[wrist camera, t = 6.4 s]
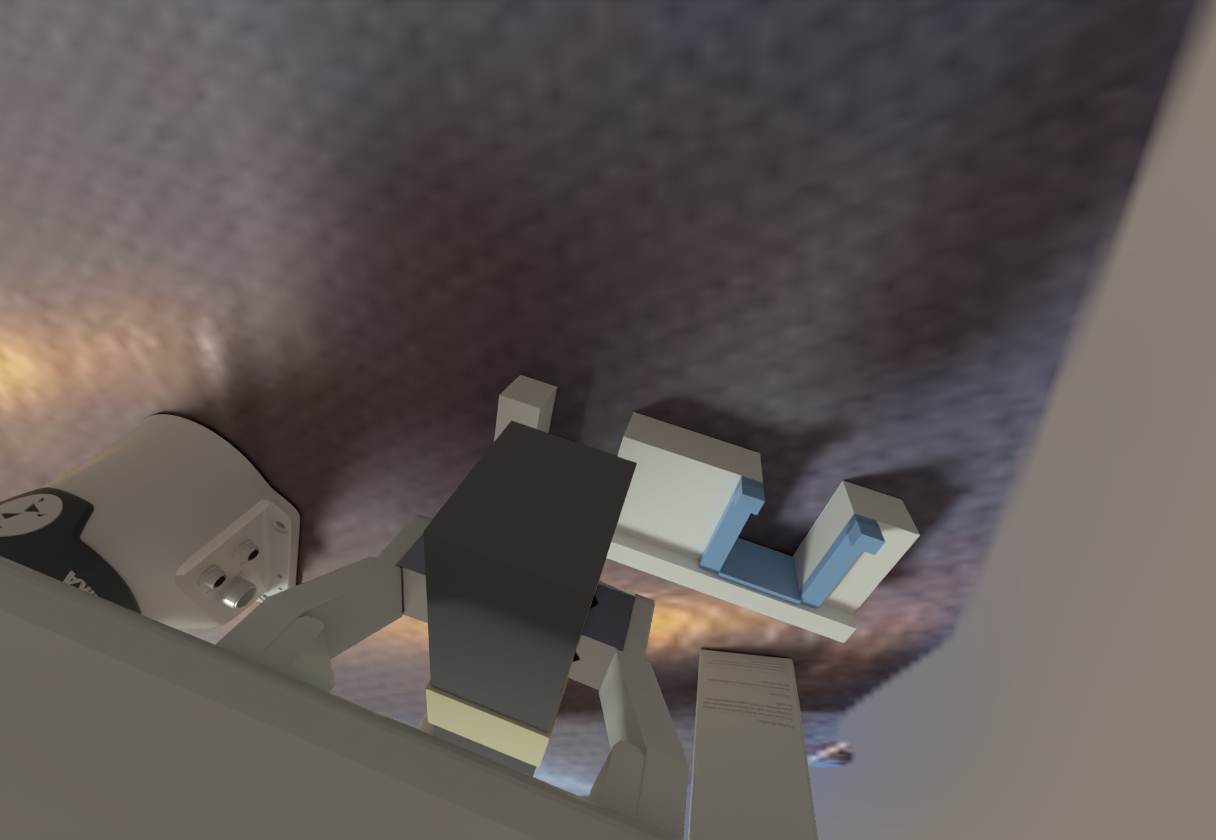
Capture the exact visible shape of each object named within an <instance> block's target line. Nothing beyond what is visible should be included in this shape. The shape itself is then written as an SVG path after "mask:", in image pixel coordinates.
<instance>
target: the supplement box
mask: <svg viewBox="0 0 1216 840" xmlns="http://www.w3.org/2000/svg"><path fill="white" fill-rule="evenodd" d="M688 840H818V835H817V828H816V821H815V814H814V806H813V799H812V793H811V785H810V778H809V771H808V763H807V755H806V748H805V740H804V733H803V726H802V719H801V711H800V704H799V698H798V692H797V685H796V678H795V671H794V666H793V661H792V659H789V658H778V657H768V656H758V655H748V654H739V653H730V652H721V651H711V650H700V655H699V671H698V688H697V704H696V720H695V736H694V752H693V769H692V785H691V800H690V818H689V832H688Z"/></svg>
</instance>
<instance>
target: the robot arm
mask: <svg viewBox="0 0 1216 840" xmlns="http://www.w3.org/2000/svg"><path fill="white" fill-rule="evenodd" d="M432 520H433V519H431V518H428V517H425V516H423V515H418V516H416V517H414V518H413V519H412V520H411V521H410V522H409V523H408V524H407V525H406V527H405V528H404V529H403V530H402V531H401V532H400V533H399V534H398V535H397V536H396V537H395V538H394V540H393V541H392V542H391V543H390V544H389V545H388V546H387V547H386V548H385V549H384V550H383V551H382V552H381V554H380V555H379V556H378V557H377V558H374V557H368V558H366V559H363V560H361V561H358V562H356V563H353V564H350V565H348V566H345V567H343V568H340V569H338V570H335V571H333V572H330V573H328V574H325V575H323V576H320V577H317V578H315V579H312V580H310V581H307V582H305V583H302V584H300V585H297V586H296V573H297V558H298V543H299V529H300V515H299V513H298V511H297V510H296V509H295V508H294V507H293V506H292V505H291V504H290V503H289V502H288V501H287V500H286V499H284V498H283V497H282V496H281V495H279V494H278V493H277V492H276V491H274V490H273V489H272V488H271V487H270V486H269V484H268V483H267V482H266V481H265V480H264V478H263V477H262V476H261V475H260V473H259V472H258V471H257V470H256V469H255V467H254V466H253V465H252V464H251V463H250V462H249V461H248V460H247V459H246V458H245V457H244V456H243V455H242V454H241V453H240V452H239V451H238V450H237V449H235V448H234V447H233V446H232V445H231V444H229V443H228V442H227V441H226V440H224V439H223V438H221V437H220V436H218V435H217V434H215V433H214V432H212V431H211V430H209V429H207V428H205V427H203V426H201V425H200V424H197V423H195V422H193V421H190V420H188V419H185V418H182V417H178V416H174V415H167V414H159V415H153V416H150V417H148V418H146V419H145V420H144V421H142V422H141V423H140V424H139V425H138V426H136V427H135V428H134V429H133V430H131V431H130V432H129V433H127V434H126V435H125V436H123V437H122V438H121V439H119V440H118V441H116V442H115V443H113V444H112V445H110V446H109V447H107V448H106V449H104V450H103V451H101V452H100V453H98V454H96V455H95V456H93V457H92V458H90V459H88V460H87V461H85V462H83V463H82V464H80V465H78V466H77V467H75V468H73V469H72V470H70V471H68V472H66V473H65V474H63V475H61V476H60V477H58V478H56V479H54V480H52V481H51V482H49V483H47V484H45V485H43V486H41V487H40V488H38V489H36V490H33V491H30V492H27V493H24V494H21V495H18V496H15V497H12V498H10V499H7V500H4V501H1V502H0V840H683V835H684V821H685V809H686V796H687V784H688V771H689V765H688V762H687V759H686V757H685V754H684V751H683V749H682V746H681V743H680V741H679V738H678V735H677V733H676V730H675V727H674V725H673V722H672V719H671V716H670V714H669V711H668V708H667V706H666V703H665V700H664V698H663V695H662V692H661V690H660V687H659V684H658V682H657V679H656V676H655V674H654V671H653V668H652V666H651V663H650V662H648V661H646V660H645V655H646V649H647V644H648V639H649V633H650V628H651V622H652V617H653V611H654V606H655V603H654V600H652V599H649V598H646V597H643V596H641V595H638V594H635V593H634V592H631V591H628V590H625V589H622V588H619V587H617V586H614V585H611V584H608V583H605V582H602V581H599V583H598V586H597V588H596V591H595V594H594V597H593V600H592V603H591V606H590V609H589V613H588V615H587V618H586V621H585V624H584V627H583V630H582V633H581V637H580V640H579V643H578V646H577V649H576V652H575V655H574V658H573V661H572V664H571V668H570V671H569V674H568V678H571V679H573V680H575V681H578V682H580V683H582V684H585V685H587V686H590V687H592V688H594V689H597V690H599V696H600V701H601V706H602V710H603V715H604V720H605V724H606V729H607V734H608V738H609V743H610V748H611V752H610V754H609V756H608V758H607V760H606V762H605V764H604V765H603V767H602V769H601V771H600V773H599V775H598V777H597V779H596V781H595V783H594V785H593V787H592V789H591V791H590V796H589V800H587V799H584V798H582V797H580V796H577V795H575V794H572V793H570V792H568V791H565V790H563V789H560V788H558V787H556V786H553V785H551V784H548V783H546V782H544V781H541V780H539V779H536V778H534V777H532V776H529V775H527V774H524V773H522V772H519V771H517V770H515V769H512V768H510V767H507V766H505V765H503V764H500V763H498V762H495V761H493V760H491V759H488V758H486V757H483V756H481V755H479V754H476V753H474V752H471V751H469V750H467V749H464V748H462V747H459V746H457V745H455V744H452V743H450V742H447V741H445V740H442V739H440V738H438V737H435V736H433V735H430V734H428V733H426V732H423V731H421V730H418V729H416V728H414V727H411V726H409V725H406V724H404V723H402V722H399V721H397V720H394V719H392V718H390V717H387V716H385V715H382V714H380V713H378V712H375V711H373V710H370V709H368V708H366V707H363V706H361V705H358V704H356V703H353V702H351V701H349V700H346V699H344V698H341V697H339V696H337V695H334V694H332V693H329V692H330V690H331V689H332V688H333V686H334V685H335V682H334V674H333V669H332V664H331V659H332V658H333V657H335V656H337V655H338V654H340V653H342V652H343V651H345V650H347V649H348V648H350V647H352V646H353V645H355V644H357V643H358V642H360V641H362V640H363V639H365V638H367V637H368V636H370V635H372V634H373V633H375V632H377V631H378V630H380V629H382V628H383V627H385V626H387V625H388V624H390V623H392V622H393V621H395V620H397V619H398V618H400V617H402V614H404V615H407V616H410V617H413V618H415V619H418V620H421V621H424V622H427V623H428V613H427V593H426V573H425V554H424V534H423V531H424V530H425V529H426V527H427V526H428V525H429V523H430V522H431V521H432ZM255 601H259V602H262V603H261V604H260V605H259V606H257V607H256V608H255V609H254V610H253V611H252V612H251V613H250V614H249V615H248V616H246V617H245V618H244V619H243V620H242V621H241V622H240V623H239V624H238V625H237V626H235V627H234V628H233V629H232V630H231V631H230V632H229V633H228V634H227V635H226V636H225V637H223V638H222V639H221V640H220V641H219V642H218V643H217V644H216V645H214V644H211V643H209V642H206V641H204V640H202V639H199V638H197V637H194V636H192V635H190V634H187V633H185V632H182V631H180V630H178V629H208V628H215V627H218V626H221V625H223V624H226V623H227V622H229V621H231V620H232V619H234V618H235V617H237V616H238V615H239V614H240V613H242V612H243V611H244V610H245V609H247V608H248V607H249V606H250V605H251V604H253V603H254V602H255Z"/></svg>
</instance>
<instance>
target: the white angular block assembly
mask: <svg viewBox="0 0 1216 840" xmlns="http://www.w3.org/2000/svg"><path fill="white" fill-rule="evenodd" d="M556 392H557V387H556V386H553V385H550V384H547V383H544V382H541V381H538V380H535V379H532V378H529V377H526V376H523V375H519V376H518V377H517V378H516V379H515V380H514V381H513V382H512V383H511V384H510V385H509V386H508V387H507V388H506V389H505V390H504V391H503V392H502V393H501V394H500V395H499V403H498V411H497V420H496V428H495V437H494V442H495V440H496V439H497V438H498V437H499V435H500V434H501V433H502V432H503V430H504V429H505V428H506V427H507V425H508V424H509V423H510V422H511V420H512V421H514V422H517V423H520V424H523V425H526V426H529V427H532V428H535V429H538V430H541V431H544V432H547V433H549V428H550V423H551V417H552V412H553V407H554V402H555V397H556ZM618 457H621V458H624V459H627V460H630V461H633V462H635V463H637V465H636V468H635V471H634V474H633V477H632V480H631V483H630V486H629V489H628V492H627V496H626V499H625V502H624V505H623V508H622V511H621V514H620V517H619V520H618V523H617V526H616V529H615V532H614V535H613V538H612V541H611V544H610V548H609V551H608V554H607V557H606V558H608V559H611V560H613V561H616V562H619V563H622V564H625V565H627V566H630V567H633V568H636V569H639V570H641V571H644V572H647V573H650V574H652V575H655V576H658V577H661V578H664V579H666V580H669V581H672V582H675V583H678V584H680V585H683V586H686V587H689V588H691V589H694V590H697V591H700V592H703V593H705V594H708V595H711V596H714V597H717V598H719V599H722V600H725V601H728V602H731V603H733V604H736V605H739V606H742V607H744V608H747V609H750V610H753V611H756V612H758V613H761V614H764V615H767V616H770V617H772V618H775V619H778V620H781V621H784V622H786V623H789V624H792V625H795V626H797V627H800V628H803V629H806V630H809V631H811V632H814V633H817V634H820V635H823V636H825V637H828V638H831V639H834V640H837V641H839V642H842V643H844V642H845V641H846V640H847V639H848V638H849V637H850V636H851V635H852V633H853V632H854V631H855V630H856V625H855V621H854V617H853V614H854V612H855V611H856V610H857V609H858V608H859V607H860V605H861V604H862V603H863V602H864V601H865V599H866V598H867V597H868V596H869V595H870V594H871V592H872V591H873V590H874V589H875V588H876V587H877V585H878V584H879V583H880V582H881V581H882V579H883V578H884V577H885V576H886V575H887V574H888V572H889V571H890V570H891V569H892V568H893V567H894V565H895V564H896V563H897V562H898V561H899V559H900V558H901V557H902V556H903V555H904V554H905V552H906V551H907V550H908V549H909V548H910V547H911V545H912V544H913V543H914V542H915V541H916V539H917V538H918V537H919V536H920V534H919V532H918V530H917V528H916V526H915V524H914V522H913V520H912V518H911V516H910V515H909V513H908V511H907V509H906V507H905V505H904V503H903V501H902V500H901V499H898V498H895V497H892V496H889V495H886V494H883V493H880V492H877V491H874V490H871V489H868V488H865V487H861V486H858V485H855V484H852V483H849V482H846V481H843V480H842V482H841V484H840V485H839V487H838V488H837V490H836V491H835V493H834V494H833V496H832V497H831V499H830V500H829V502H828V503H827V505H826V506H825V508H824V509H823V511H822V512H821V514H820V515H819V517H818V518H817V520H816V521H815V523H814V524H813V526H812V528H811V529H810V531H809V532H808V534H807V535H806V537H805V538H804V540H803V541H802V543H801V544H800V546H799V547H798V549H797V550H796V552H795V553H794V555H793V556H789V555H787V554H784V553H781V552H778V551H775V550H772V549H769V548H766V547H763V546H760V545H758V544H755V543H752V542H749V541H746V540H743V539H740V538H738V536H739V534H740V532H741V530H742V528H743V527H744V525H745V523H746V521H747V519H748V517H749V516H750V514H751V513H752V514H755V515H758V513H759V511H760V509H761V507H762V506H763V504H764V502H765V497H764V487H763V477H762V467H761V457H760V453H758V452H755V451H752V450H748V449H745V448H742V447H739V446H736V445H733V444H730V443H727V442H724V441H721V440H718V439H715V438H712V437H709V436H706V435H703V434H700V433H697V432H694V431H690V430H687V429H684V428H681V427H678V426H675V425H672V424H669V423H666V422H663V421H660V420H657V419H654V418H651V417H648V416H645V415H642V414H639V413H636V412H633V414H632V417H631V419H630V422H629V424H628V427H627V429H626V432H625V434H624V436H623V440H622V443H621V446H620V450H619V453H618Z"/></svg>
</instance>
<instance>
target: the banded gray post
mask: <svg viewBox="0 0 1216 840" xmlns="http://www.w3.org/2000/svg"><path fill="white" fill-rule="evenodd" d="M636 465H637V463H635V462H633V461H630V460H627V459H624V458H621V457H618V456H615V455H612V454H609V453H606V452H603V451H600V450H597V449H594V448H591V447H588V446H585V445H582V444H579V443H576V442H574V441H571V440H568V439H565V438H562V437H559V436H556V435H553V434H550V433H547V432H544V431H541V430H538V429H535V428H532V427H529V426H526V425H523V424H520V423H517V422H514V421H512V420H511V422H510V423H509V424H508V425H507V427H506V428H505V429H504V430H503V432H502V433H501V434H500V435H499V437H498V438H497V439H496V440H495V442H494V443H493V444H492V445H491V447H490V448H489V449H488V450H487V452H486V453H485V454H484V456H483V457H482V458H481V459H480V461H479V462H478V463H477V464H476V466H475V467H474V468H473V469H472V471H471V472H470V473H469V474H468V476H467V477H466V478H465V479H464V481H463V482H462V483H461V484H460V486H459V487H458V488H457V490H456V491H455V492H454V493H453V495H452V496H451V497H450V498H449V500H448V501H447V502H446V503H445V505H444V506H443V507H442V508H441V510H440V511H439V512H438V513H437V515H436V516H435V517H434V518H433V520H432V521H431V522H430V523H429V525H428V526H427V527H426V529H425V530H424V531H423V534H424V554H425V573H426V593H427V613H428V633H429V653H430V673H431V680H430V682H429V684H428V686H427V687H426V698H427V713H428V723H431V724H433V733H434V736H435V737H438V738H440V739H442V740H445V741H447V742H450V743H452V744H455V745H457V746H459V747H462V748H464V749H467V750H469V751H471V752H474V753H476V754H479V755H481V756H483V757H486V758H488V759H491V760H493V761H495V762H498V763H500V764H503V765H505V766H507V767H510V768H512V769H515V770H517V771H519V772H522V773H524V774H527V775H529V776H532V777H533V774H534V771H535V768H536V767H538V768H539V767H540V764H541V761H542V758H543V755H544V753H545V750H546V747H547V744H548V741H549V738H550V735H551V732H552V729H553V726H554V723H555V720H556V717H557V714H558V710H559V707H560V704H561V701H562V698H563V695H564V692H565V689H566V686H567V683H568V679H569V678H568V674H569V671H570V668H571V664H572V661H573V658H574V655H575V652H576V649H577V646H578V643H579V640H580V637H581V633H582V630H583V627H584V624H585V621H586V618H587V615H588V613H589V609H590V605H591V602H592V599H593V596H594V593H595V590H596V587H597V584H598V581H599V578H600V575H601V572H602V569H603V566H604V563H605V560H606V557H607V554H608V551H609V548H610V544H611V541H612V538H613V535H614V532H615V529H616V526H617V523H618V520H619V517H620V514H621V511H622V508H623V505H624V502H625V499H626V496H627V492H628V489H629V486H630V483H631V480H632V477H633V474H634V471H635V468H636Z"/></svg>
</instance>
